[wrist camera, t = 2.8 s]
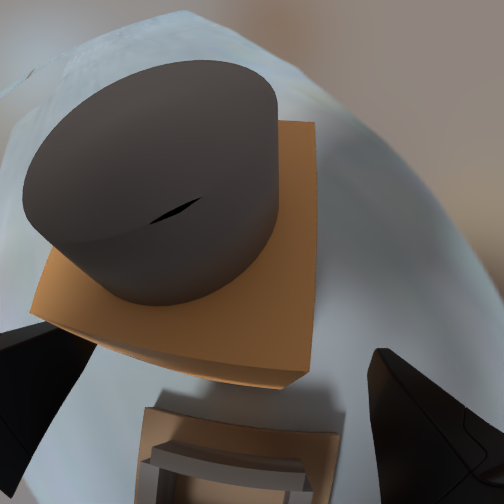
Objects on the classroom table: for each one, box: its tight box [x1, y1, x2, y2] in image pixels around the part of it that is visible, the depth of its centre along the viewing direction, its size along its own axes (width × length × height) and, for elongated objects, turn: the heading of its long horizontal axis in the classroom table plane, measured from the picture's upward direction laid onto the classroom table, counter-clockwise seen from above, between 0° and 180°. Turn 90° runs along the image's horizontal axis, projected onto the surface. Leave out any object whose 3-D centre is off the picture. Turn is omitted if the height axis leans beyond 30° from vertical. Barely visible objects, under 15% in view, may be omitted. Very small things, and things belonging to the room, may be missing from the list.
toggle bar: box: [22, 60, 317, 390], centre depth 9 cm, size 4×4×16 cm
